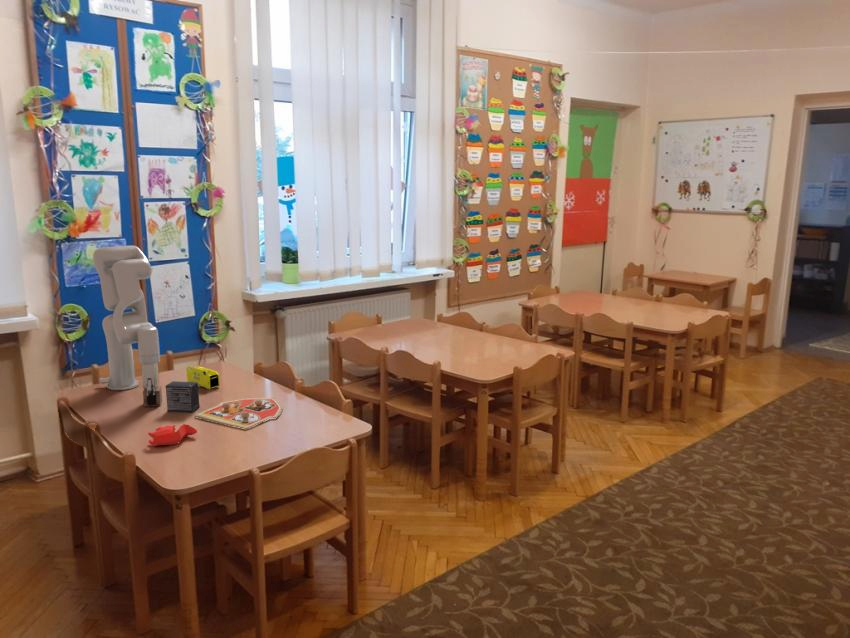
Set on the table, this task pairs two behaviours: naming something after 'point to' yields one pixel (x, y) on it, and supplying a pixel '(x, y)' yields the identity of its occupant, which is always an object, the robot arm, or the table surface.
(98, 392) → the table surface
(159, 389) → the walnut cube
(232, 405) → the knob puzzle
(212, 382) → the yellow toy chassis
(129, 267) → the robot arm
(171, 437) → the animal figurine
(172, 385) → the small box
